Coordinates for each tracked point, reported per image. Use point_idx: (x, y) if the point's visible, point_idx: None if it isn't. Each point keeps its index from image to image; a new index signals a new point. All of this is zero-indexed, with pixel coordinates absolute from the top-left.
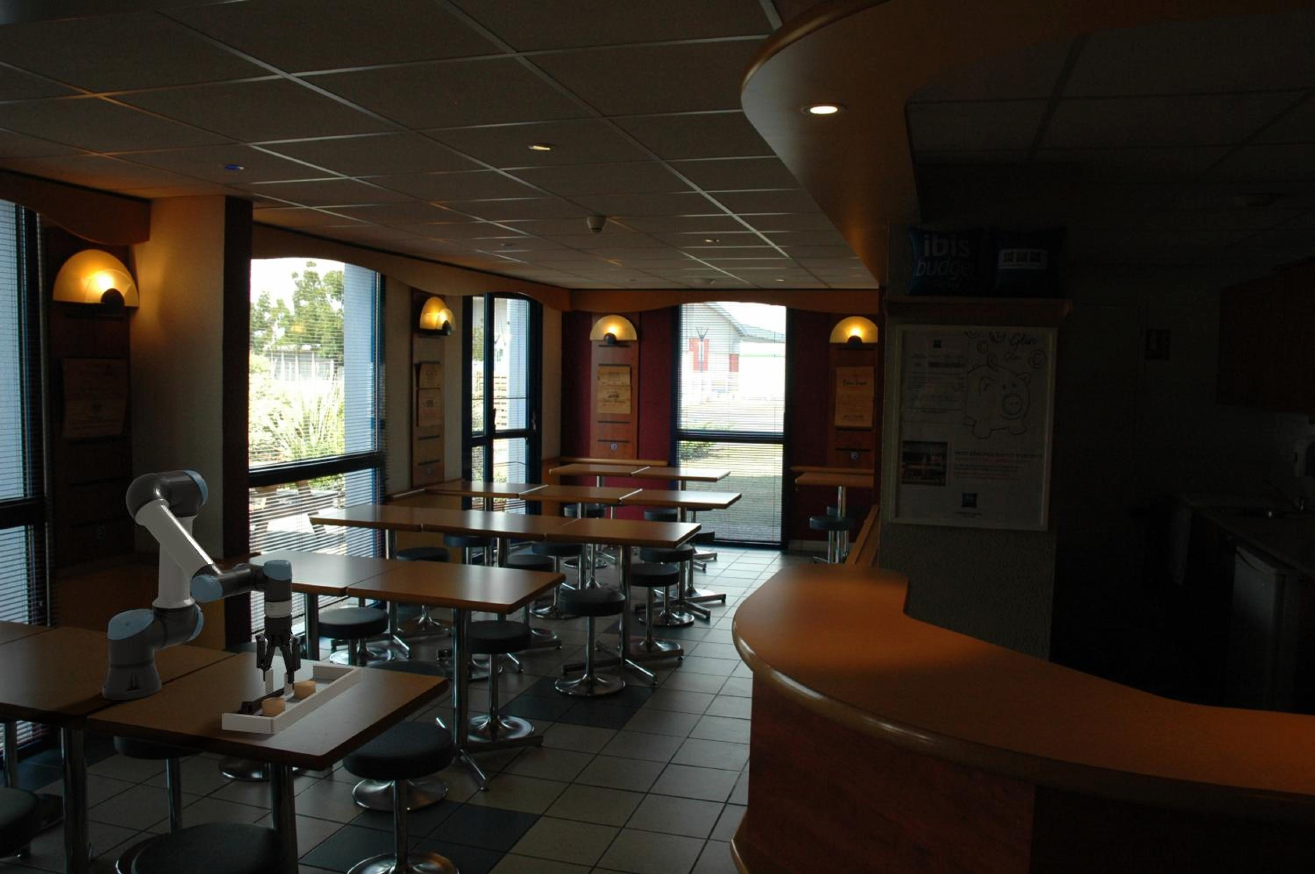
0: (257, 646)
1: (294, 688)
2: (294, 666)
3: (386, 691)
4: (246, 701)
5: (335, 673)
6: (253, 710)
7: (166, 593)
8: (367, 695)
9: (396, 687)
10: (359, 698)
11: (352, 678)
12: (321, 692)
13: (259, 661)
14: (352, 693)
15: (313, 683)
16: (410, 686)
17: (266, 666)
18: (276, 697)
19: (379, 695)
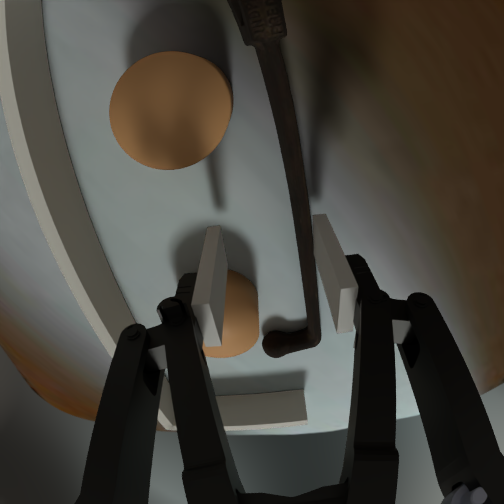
0: (485, 428)
1: (237, 298)
2: (124, 351)
3: (61, 363)
4: None
5: (233, 410)
6: (243, 36)
7: None
8: (65, 339)
9: (69, 381)
10: (59, 320)
11: None
12: (66, 276)
13: (426, 332)
14: None
15: None
16: (57, 386)
17: (360, 317)
18: (195, 159)
19: (47, 343)
